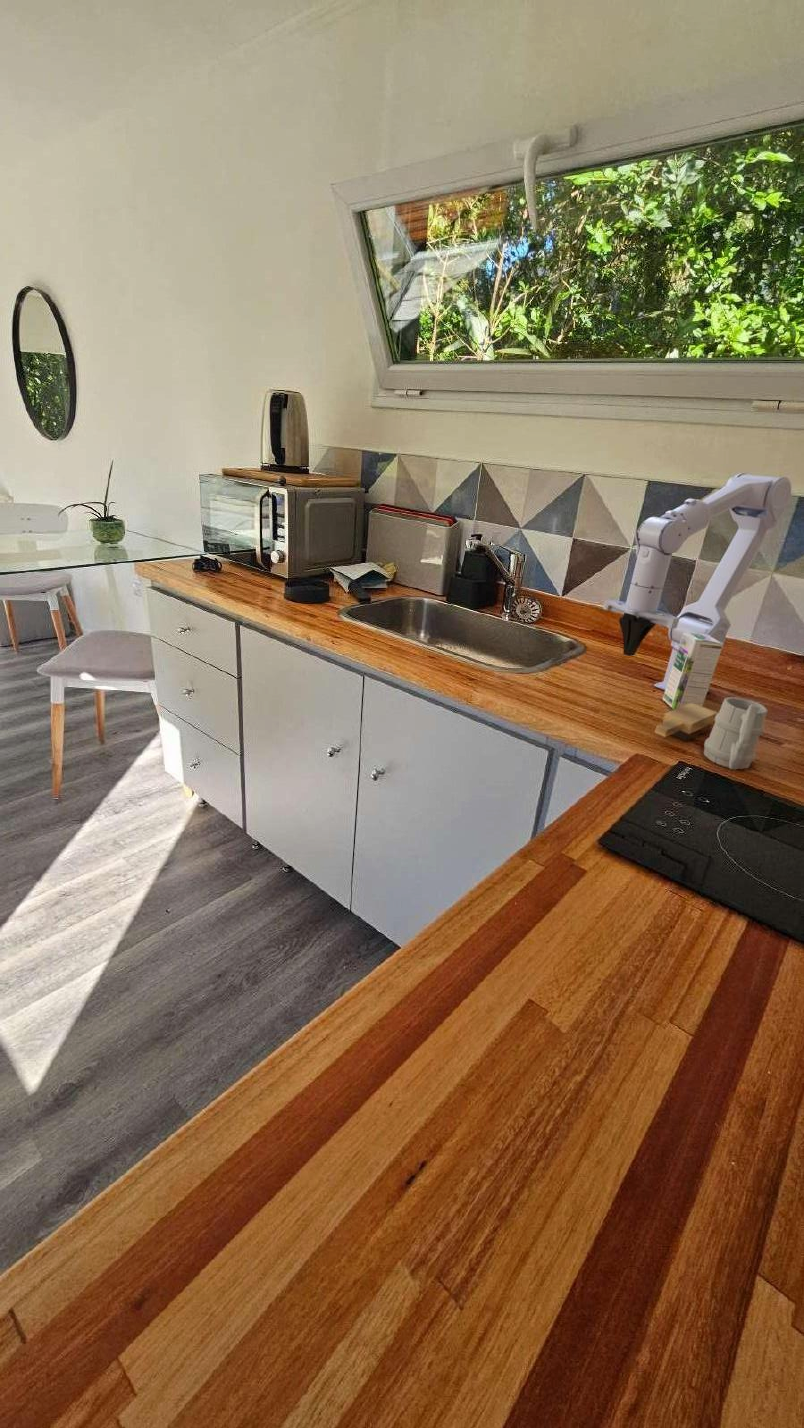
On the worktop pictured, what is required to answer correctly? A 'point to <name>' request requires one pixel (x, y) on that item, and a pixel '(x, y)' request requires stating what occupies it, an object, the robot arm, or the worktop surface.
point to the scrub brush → (686, 722)
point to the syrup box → (692, 670)
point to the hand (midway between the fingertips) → (628, 654)
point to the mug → (735, 733)
